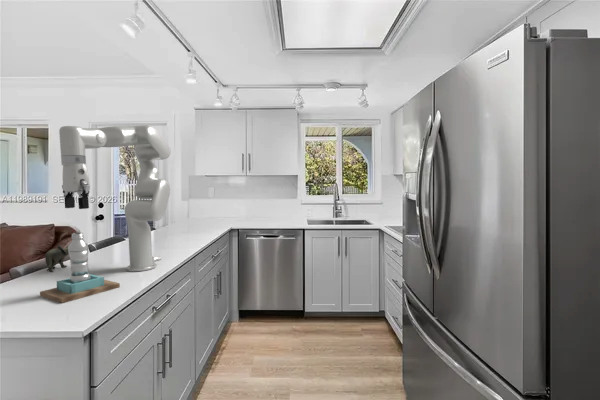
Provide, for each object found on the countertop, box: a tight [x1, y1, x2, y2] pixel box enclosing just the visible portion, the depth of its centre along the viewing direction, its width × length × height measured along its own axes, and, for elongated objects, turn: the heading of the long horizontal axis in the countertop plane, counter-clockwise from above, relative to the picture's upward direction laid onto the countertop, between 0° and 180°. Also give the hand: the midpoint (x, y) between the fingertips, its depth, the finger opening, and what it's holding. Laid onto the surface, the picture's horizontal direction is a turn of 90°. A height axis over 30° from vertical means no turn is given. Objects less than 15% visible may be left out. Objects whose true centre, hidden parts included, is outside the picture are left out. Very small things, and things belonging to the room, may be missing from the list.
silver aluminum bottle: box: [67, 232, 91, 284], centre depth 130 cm, size 6×7×20 cm
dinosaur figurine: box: [42, 243, 70, 273], centre depth 164 cm, size 22×8×11 cm, turn 179°
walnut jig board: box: [39, 273, 121, 304], centre depth 131 cm, size 20×16×4 cm
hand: (76, 208), depth 129 cm, fingers open, 9 cm apart
